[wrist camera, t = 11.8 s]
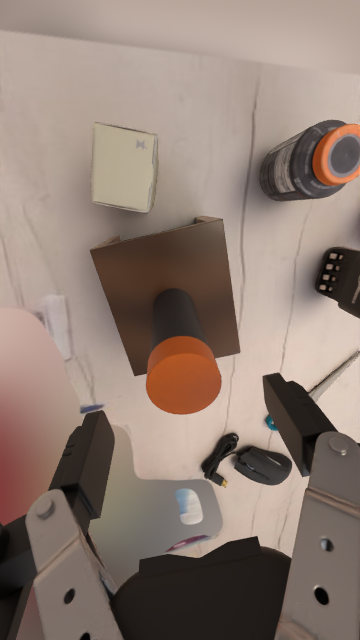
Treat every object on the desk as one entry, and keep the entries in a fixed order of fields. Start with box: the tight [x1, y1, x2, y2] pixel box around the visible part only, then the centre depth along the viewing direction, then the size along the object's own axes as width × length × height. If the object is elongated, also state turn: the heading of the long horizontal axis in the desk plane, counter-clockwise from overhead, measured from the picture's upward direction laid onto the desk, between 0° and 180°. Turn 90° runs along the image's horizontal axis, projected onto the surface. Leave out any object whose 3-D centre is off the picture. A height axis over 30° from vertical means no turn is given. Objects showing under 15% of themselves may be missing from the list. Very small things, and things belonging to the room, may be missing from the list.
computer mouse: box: [202, 434, 292, 488], centre depth 48 cm, size 12×17×4 cm
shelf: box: [90, 216, 240, 376], centre depth 29 cm, size 14×12×10 cm
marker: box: [146, 288, 222, 414], centre depth 19 cm, size 4×4×12 cm
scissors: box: [266, 351, 360, 431], centre depth 43 cm, size 7×1×20 cm
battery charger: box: [315, 247, 360, 318], centre depth 30 cm, size 7×4×11 cm, turn 175°
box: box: [91, 122, 158, 213], centre depth 23 cm, size 5×4×13 cm
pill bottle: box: [260, 120, 360, 201], centre depth 24 cm, size 6×6×11 cm
